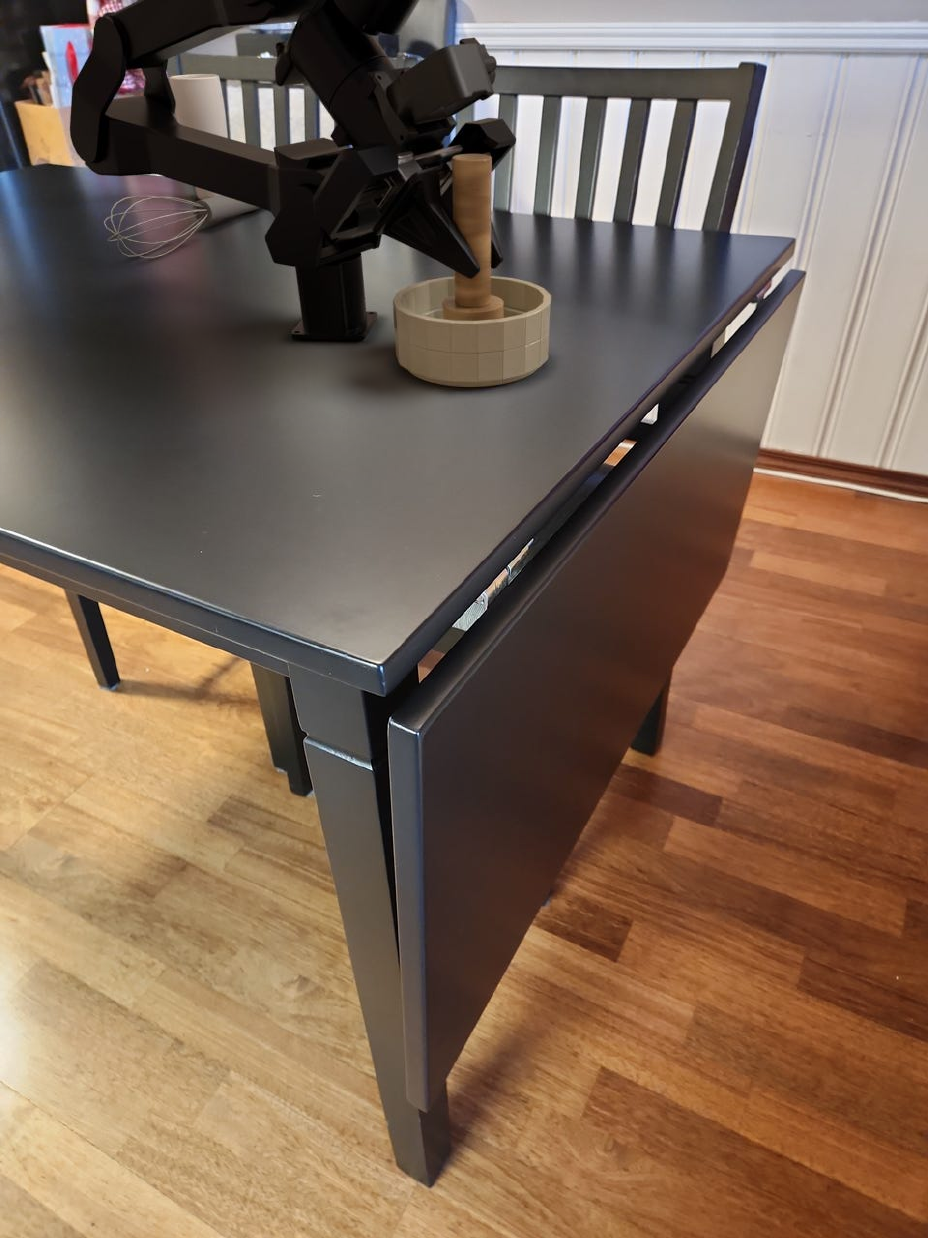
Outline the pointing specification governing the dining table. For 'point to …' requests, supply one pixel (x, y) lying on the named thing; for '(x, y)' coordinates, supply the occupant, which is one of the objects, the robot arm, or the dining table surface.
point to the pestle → (473, 240)
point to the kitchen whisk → (202, 211)
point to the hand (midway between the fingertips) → (487, 269)
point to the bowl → (472, 334)
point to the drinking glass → (200, 108)
